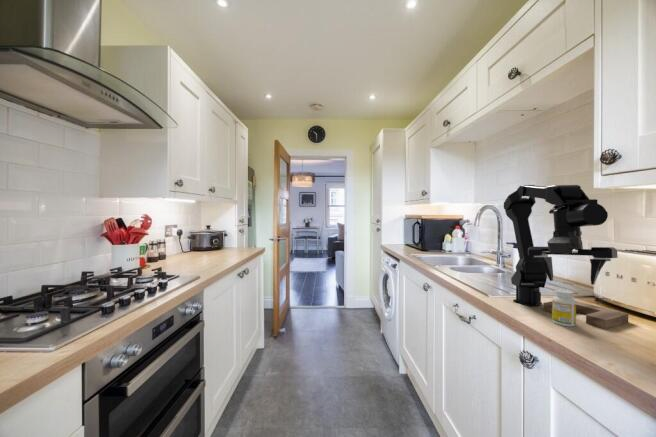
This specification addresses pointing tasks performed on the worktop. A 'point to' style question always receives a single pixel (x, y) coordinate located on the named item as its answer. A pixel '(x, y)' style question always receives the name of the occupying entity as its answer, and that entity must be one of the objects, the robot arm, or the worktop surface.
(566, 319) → the supplement bottle
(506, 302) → the worktop surface
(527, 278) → the robot arm
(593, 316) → the notched board
